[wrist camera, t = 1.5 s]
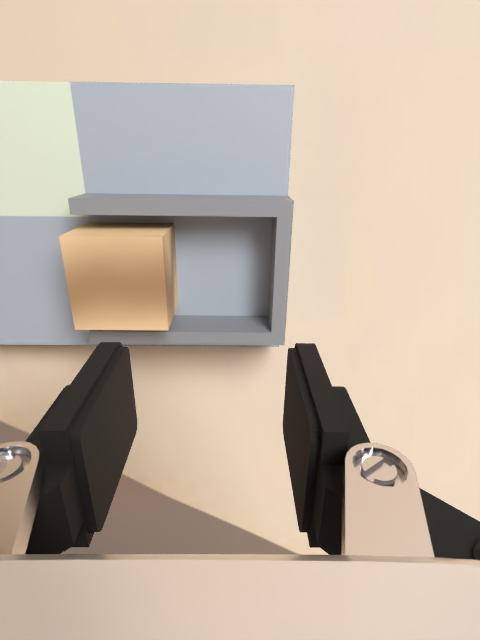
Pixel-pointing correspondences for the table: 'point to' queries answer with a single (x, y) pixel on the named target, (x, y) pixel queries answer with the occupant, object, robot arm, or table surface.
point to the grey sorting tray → (148, 202)
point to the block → (121, 275)
